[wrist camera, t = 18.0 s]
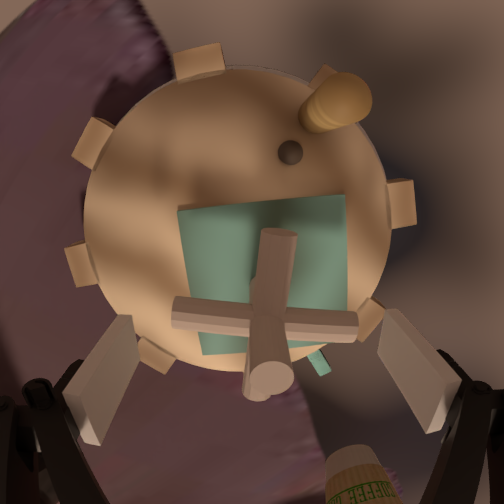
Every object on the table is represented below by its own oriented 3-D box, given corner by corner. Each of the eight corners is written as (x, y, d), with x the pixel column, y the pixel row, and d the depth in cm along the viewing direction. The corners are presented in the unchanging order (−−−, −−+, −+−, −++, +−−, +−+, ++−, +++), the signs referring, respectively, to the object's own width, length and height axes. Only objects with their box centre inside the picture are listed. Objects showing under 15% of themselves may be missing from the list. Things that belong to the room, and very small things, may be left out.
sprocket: (275, 414, 28) (282, 489, 20) (37, 270, 24) (-26, 312, 16) (456, 190, 22) (531, 210, 14) (189, -2, 18) (161, -66, 10)
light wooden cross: (345, 223, 21) (416, 274, 11) (319, 351, 24) (351, 450, 14) (194, 206, 21) (147, 248, 11) (187, 340, 23) (158, 440, 14)
